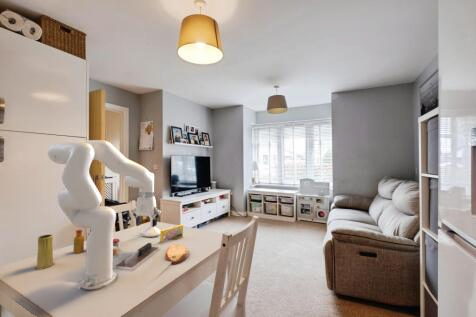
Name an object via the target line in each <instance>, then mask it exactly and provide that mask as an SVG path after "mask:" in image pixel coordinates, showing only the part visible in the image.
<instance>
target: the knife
mask: <svg viewBox="0 0 476 317" xmlns="http://www.w3.org/2000/svg"><path fill="white" fill-rule="evenodd" d="M152 243H153V242H148V243H146V244H144V245H143V246H141V247H140V248H138V249H137V250H136V251H135V252H136V253H135V252H134V253H133V255H132V254H131V255H129V256H130V257H129V256H128V257H126V258H127V259H126V258H125V259H124V260H125V266H126V265H127V264H129V263H130V262H131V261H133V260H134V259H136V258H137V257H139V256H141V255H143V254H144V253H146V252H147V251H149V250H150V249H151V247H153V246H152Z"/></svg>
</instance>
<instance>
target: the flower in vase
mask: <svg viewBox="0 0 476 317" xmlns="http://www.w3.org/2000/svg"><path fill="white" fill-rule="evenodd" d="M148 217H149V220H150V223H149V227H147V228H146V229H145V230H144V231H143V233H142V235H143V236H144V237H146V238H153V237H154V238H155V237H157V236H160V232H161V229H159V228H158V227H157V226H155V227H152V220H153V218H152V216H148Z"/></svg>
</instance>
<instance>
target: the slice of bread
mask: <svg viewBox="0 0 476 317" xmlns="http://www.w3.org/2000/svg"><path fill="white" fill-rule="evenodd" d="M188 257H189V248H187V246H185V245H184V244H178V243H172V244H171V245H169V247H168V249H167V251H166V253H165V260H166V261H167V262H168V263H169V262H170V263H171V264H172V265H177V264H180V263H182V262H183V261H184V260H186V259H188Z"/></svg>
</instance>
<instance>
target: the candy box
mask: <svg viewBox="0 0 476 317" xmlns="http://www.w3.org/2000/svg"><path fill="white" fill-rule="evenodd" d="M160 231H161V232H160V234H159V242H160V243H164V242H167V241H175V240H179V239H181V238H183V237H184V224H179V225H175V226H172V227H167V228H164V229H160Z"/></svg>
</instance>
